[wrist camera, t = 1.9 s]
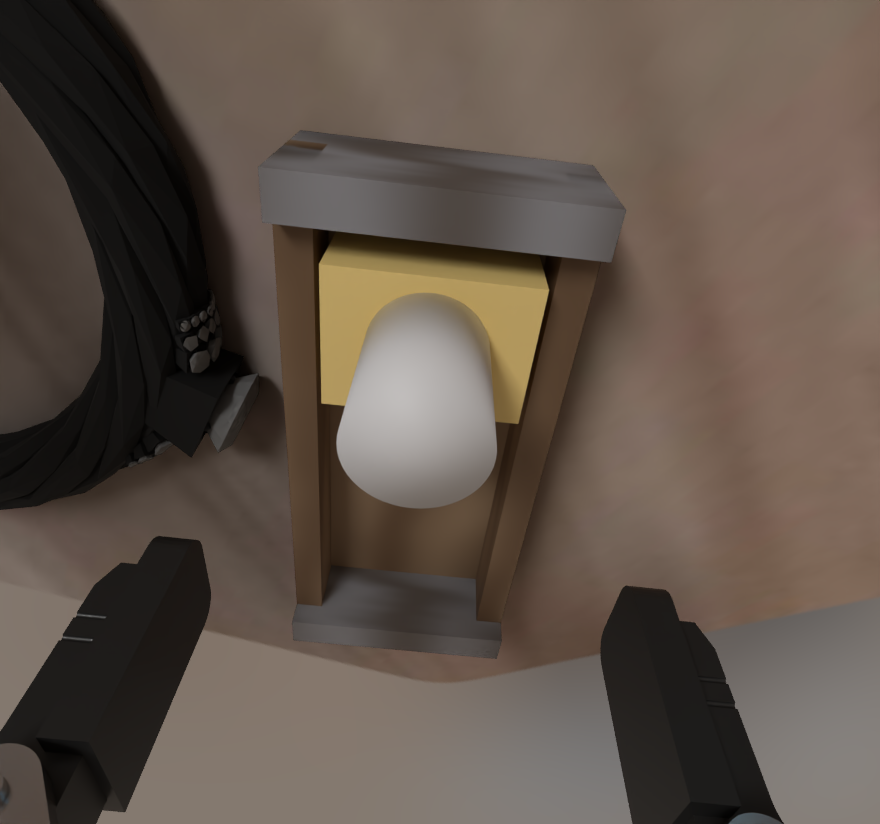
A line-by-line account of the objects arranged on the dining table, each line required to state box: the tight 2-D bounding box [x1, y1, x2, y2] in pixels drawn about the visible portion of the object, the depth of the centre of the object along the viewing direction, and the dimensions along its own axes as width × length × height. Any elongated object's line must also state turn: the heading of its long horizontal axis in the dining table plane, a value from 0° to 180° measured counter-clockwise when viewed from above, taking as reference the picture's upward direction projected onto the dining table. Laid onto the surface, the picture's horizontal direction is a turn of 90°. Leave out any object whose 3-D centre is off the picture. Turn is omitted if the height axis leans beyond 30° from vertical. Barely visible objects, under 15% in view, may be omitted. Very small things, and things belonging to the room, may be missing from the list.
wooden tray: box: [258, 130, 626, 659], centre depth 24 cm, size 10×22×5 cm, turn 174°
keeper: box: [319, 231, 549, 509], centre depth 18 cm, size 7×5×8 cm
